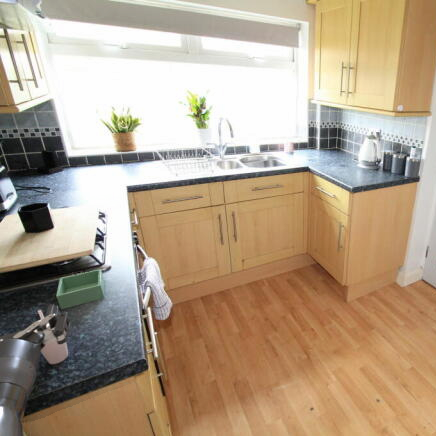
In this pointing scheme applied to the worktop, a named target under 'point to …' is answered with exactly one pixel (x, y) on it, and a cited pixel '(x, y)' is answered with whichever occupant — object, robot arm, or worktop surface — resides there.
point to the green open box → (80, 288)
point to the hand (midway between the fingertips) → (23, 316)
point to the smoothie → (53, 349)
